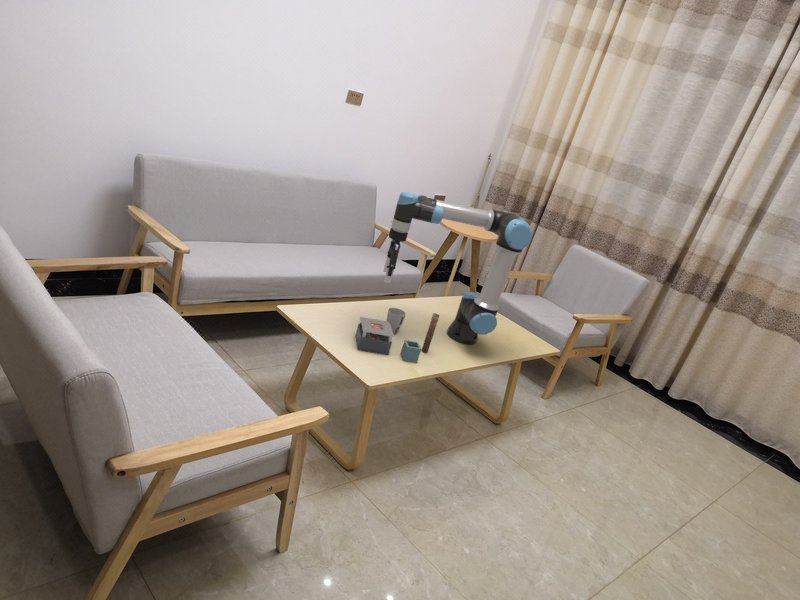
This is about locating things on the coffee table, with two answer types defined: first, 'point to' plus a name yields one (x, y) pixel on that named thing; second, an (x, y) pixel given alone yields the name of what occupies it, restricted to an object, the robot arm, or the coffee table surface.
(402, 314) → the cup
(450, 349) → the coffee table surface
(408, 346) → the holder
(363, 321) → the grey square box
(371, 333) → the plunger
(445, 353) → the coffee table surface
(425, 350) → the brown square bar
